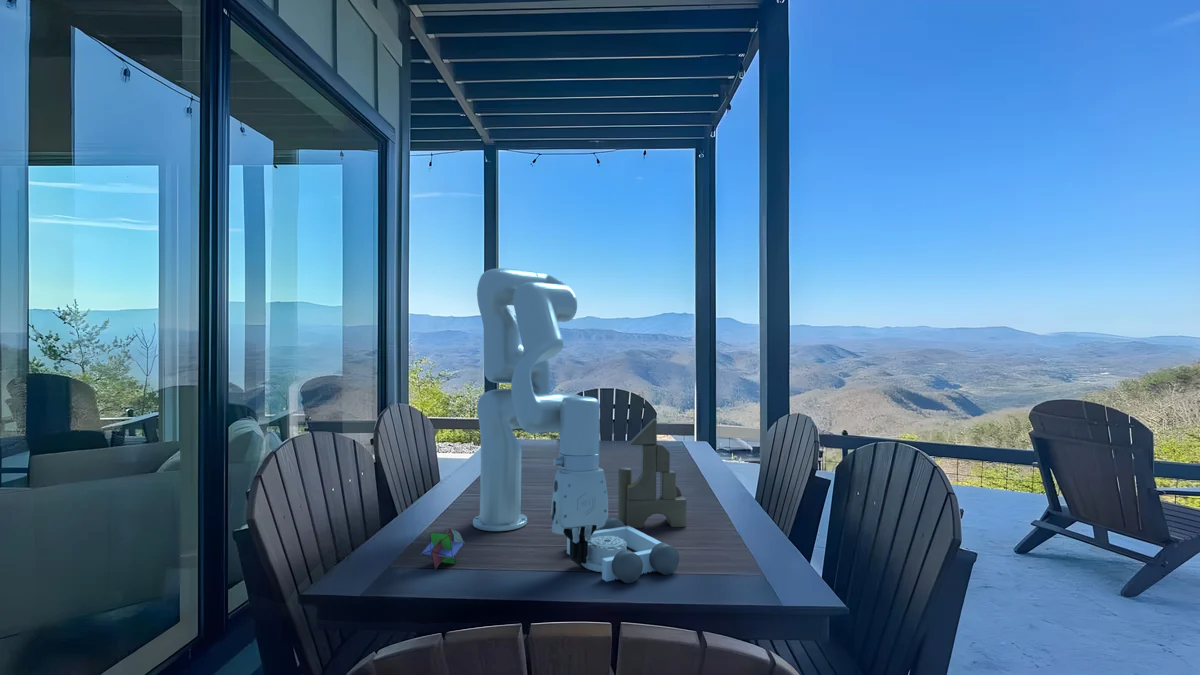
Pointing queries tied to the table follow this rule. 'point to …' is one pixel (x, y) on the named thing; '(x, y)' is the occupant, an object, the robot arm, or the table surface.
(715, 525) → the table surface
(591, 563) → the mechanical component
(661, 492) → the wooden toy
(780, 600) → the table surface
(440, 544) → the geometric puzzle
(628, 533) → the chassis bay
